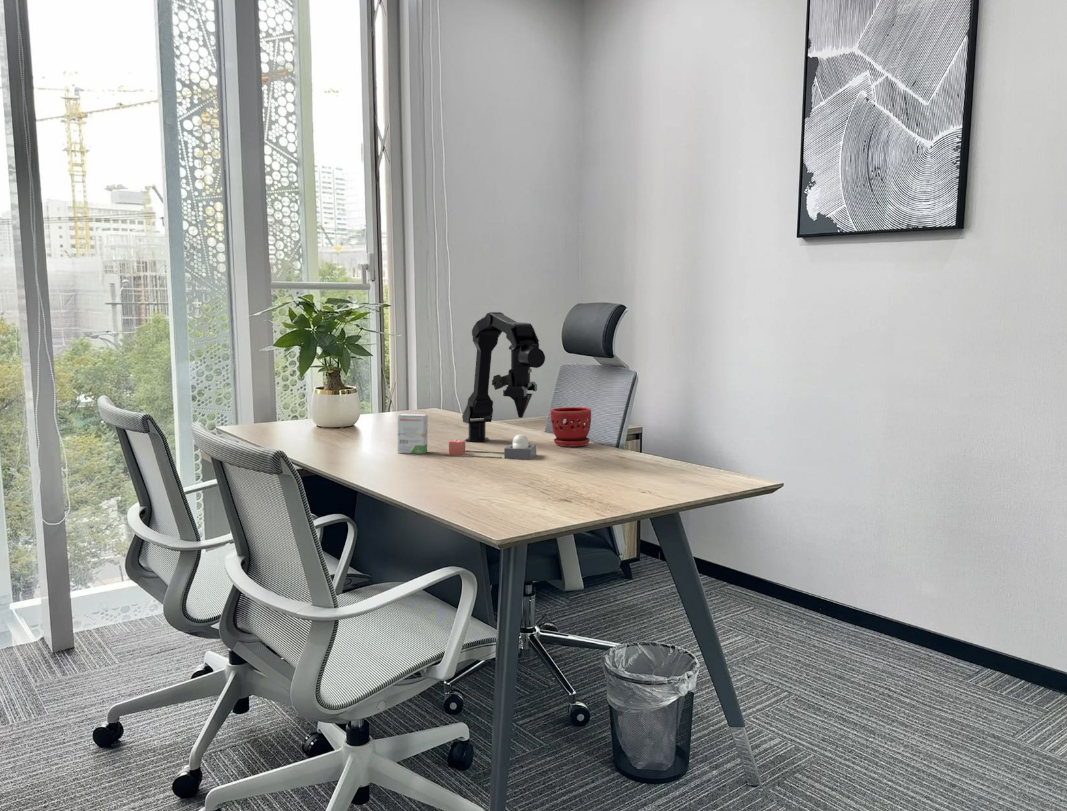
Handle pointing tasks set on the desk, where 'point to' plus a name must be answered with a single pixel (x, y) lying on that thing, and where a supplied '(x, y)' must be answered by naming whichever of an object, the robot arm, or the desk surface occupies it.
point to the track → (476, 456)
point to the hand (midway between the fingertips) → (520, 417)
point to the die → (457, 447)
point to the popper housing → (519, 452)
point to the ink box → (412, 433)
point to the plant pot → (571, 426)
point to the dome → (520, 441)
